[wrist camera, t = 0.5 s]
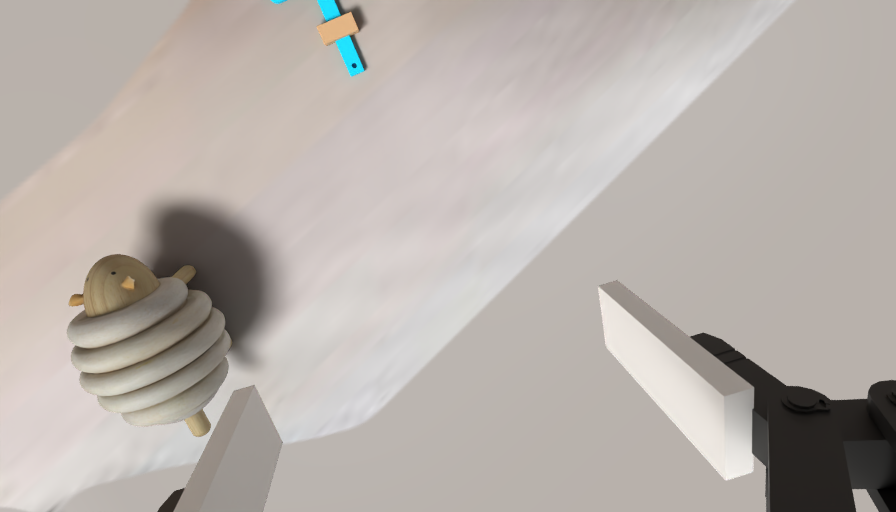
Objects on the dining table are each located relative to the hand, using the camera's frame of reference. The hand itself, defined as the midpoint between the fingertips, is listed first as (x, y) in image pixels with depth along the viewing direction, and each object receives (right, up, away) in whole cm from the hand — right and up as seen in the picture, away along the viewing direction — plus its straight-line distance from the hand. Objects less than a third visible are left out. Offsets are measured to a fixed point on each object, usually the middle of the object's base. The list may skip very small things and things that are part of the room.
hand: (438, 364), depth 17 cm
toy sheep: (-24, -2, +25) cm, 35 cm away
